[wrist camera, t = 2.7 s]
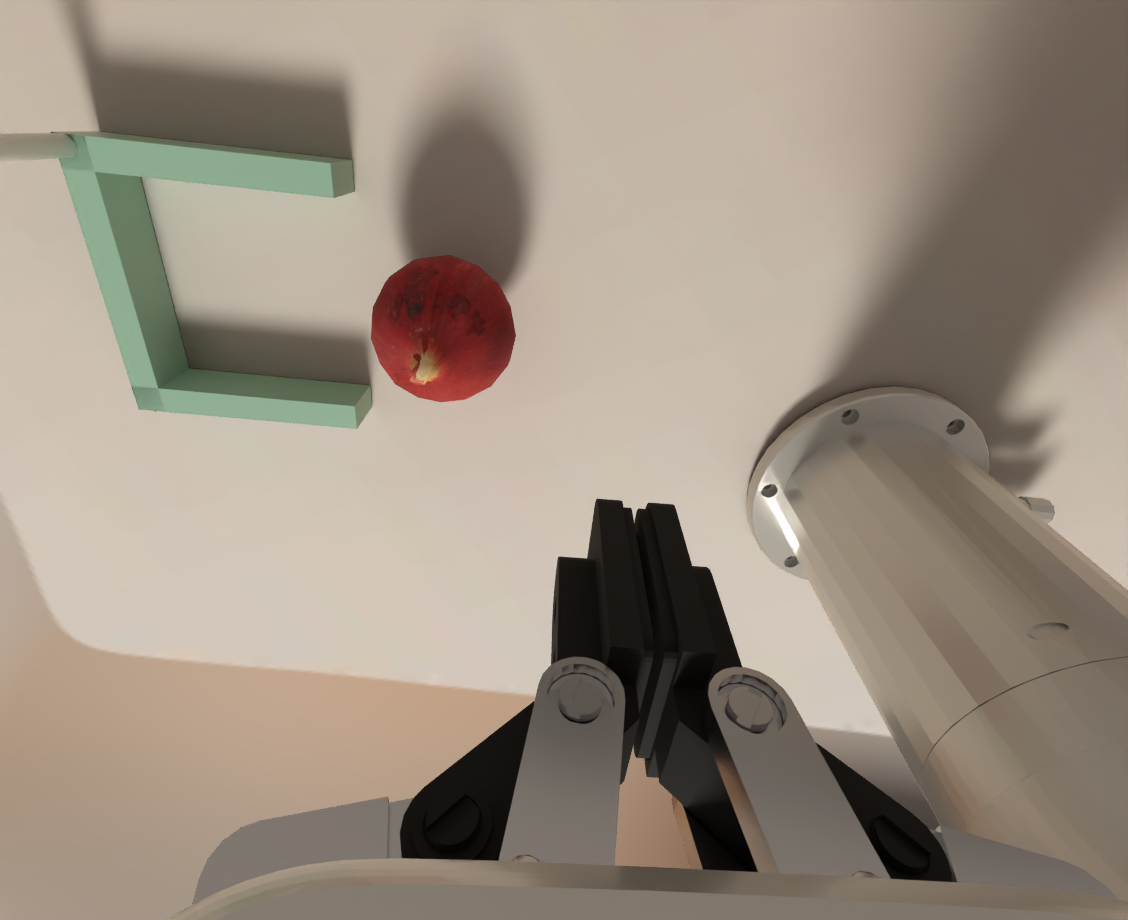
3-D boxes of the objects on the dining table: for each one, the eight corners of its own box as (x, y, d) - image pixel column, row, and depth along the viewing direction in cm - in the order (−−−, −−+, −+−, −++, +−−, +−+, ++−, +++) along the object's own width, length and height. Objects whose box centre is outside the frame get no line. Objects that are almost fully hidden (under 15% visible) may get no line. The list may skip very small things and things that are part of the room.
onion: (382, 250, 25) (313, 296, 18) (508, 233, 25) (486, 273, 18) (416, 370, 28) (367, 449, 21) (529, 357, 28) (517, 432, 21)
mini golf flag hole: (351, 160, 23) (106, 197, 11) (372, 406, 29) (227, 614, 17) (98, 131, 23) (-462, 135, 10) (170, 388, 29) (-134, 588, 16)
